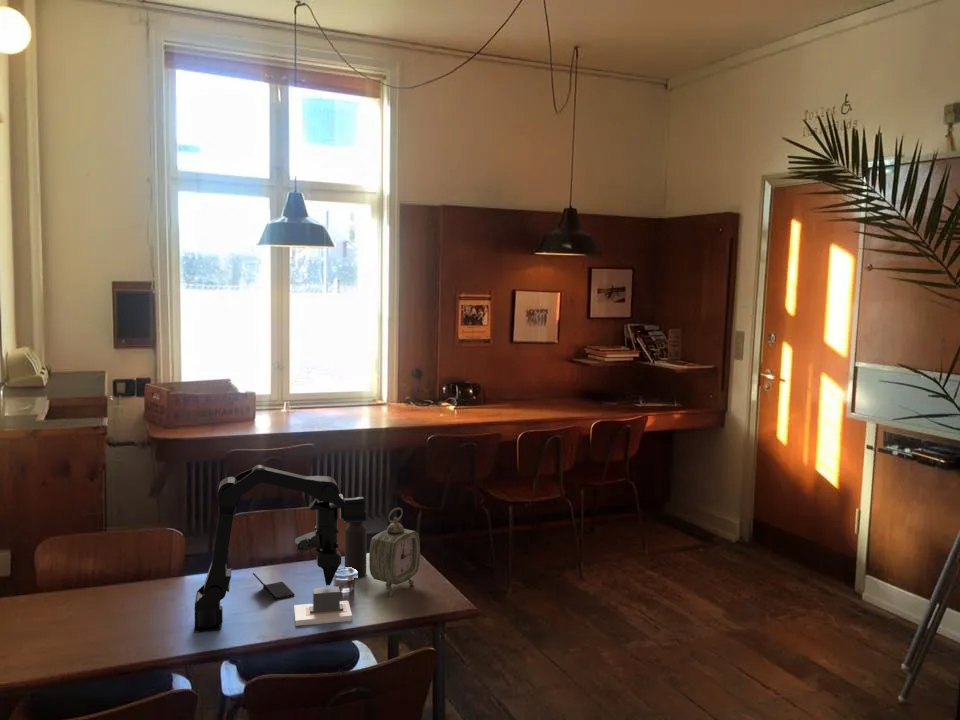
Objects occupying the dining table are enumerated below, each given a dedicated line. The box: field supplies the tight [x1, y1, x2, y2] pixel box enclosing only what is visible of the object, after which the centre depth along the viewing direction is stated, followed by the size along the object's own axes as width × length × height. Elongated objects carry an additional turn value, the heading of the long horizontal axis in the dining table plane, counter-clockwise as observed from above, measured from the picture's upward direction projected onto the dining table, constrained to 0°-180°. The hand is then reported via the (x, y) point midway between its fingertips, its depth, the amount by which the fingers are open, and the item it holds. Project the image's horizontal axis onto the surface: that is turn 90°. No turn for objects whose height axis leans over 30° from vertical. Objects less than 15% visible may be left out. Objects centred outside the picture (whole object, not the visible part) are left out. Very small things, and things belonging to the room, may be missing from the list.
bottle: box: [344, 522, 368, 579], centre depth 242 cm, size 7×7×20 cm
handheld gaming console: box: [252, 572, 295, 601], centre depth 227 cm, size 12×7×10 cm
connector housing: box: [312, 586, 341, 611], centre depth 213 cm, size 7×4×5 cm, turn 105°
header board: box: [293, 600, 353, 627], centre depth 213 cm, size 15×10×5 cm, turn 105°
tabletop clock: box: [368, 507, 421, 598], centre depth 232 cm, size 14×9×25 cm, turn 150°
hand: (326, 578), depth 213 cm, fingers open, 9 cm apart
